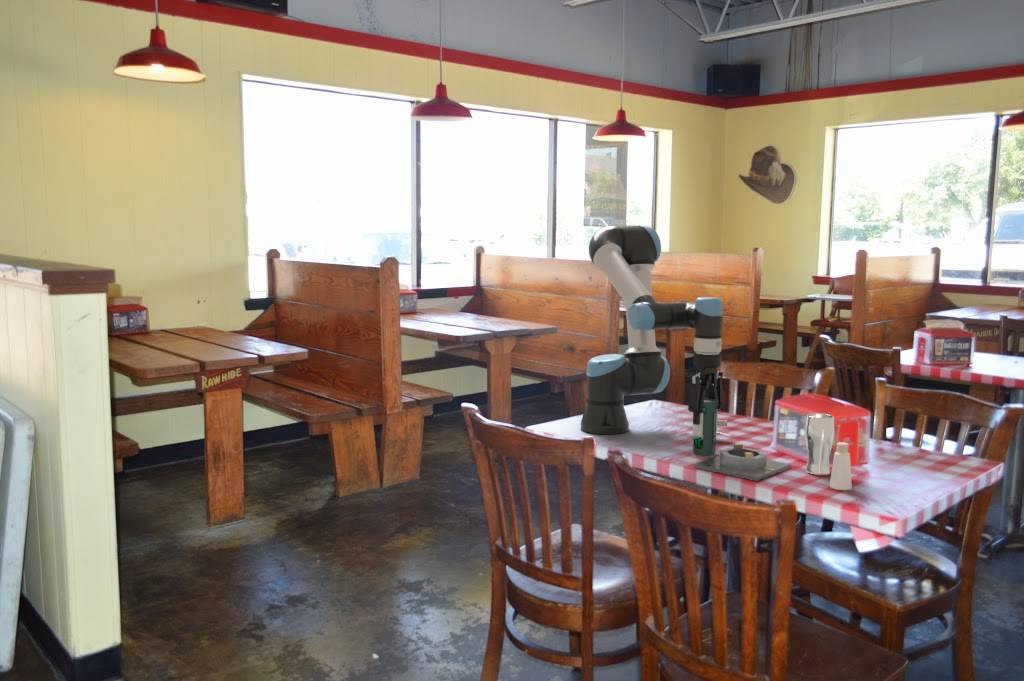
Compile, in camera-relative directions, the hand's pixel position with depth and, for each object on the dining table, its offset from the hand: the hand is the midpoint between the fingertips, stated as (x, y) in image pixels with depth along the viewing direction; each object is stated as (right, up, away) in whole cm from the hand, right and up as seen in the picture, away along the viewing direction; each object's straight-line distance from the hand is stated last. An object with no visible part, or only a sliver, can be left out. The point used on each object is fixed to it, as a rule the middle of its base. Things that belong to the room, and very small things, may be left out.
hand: (704, 433), depth 243 cm
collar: (+7, -7, -15) cm, 18 cm away
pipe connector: (+5, -4, +18) cm, 19 cm away
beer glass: (+25, -8, -19) cm, 33 cm away
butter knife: (+6, -2, +32) cm, 33 cm away
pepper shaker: (+26, -10, -33) cm, 43 cm away
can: (0, -6, +1) cm, 6 cm away
